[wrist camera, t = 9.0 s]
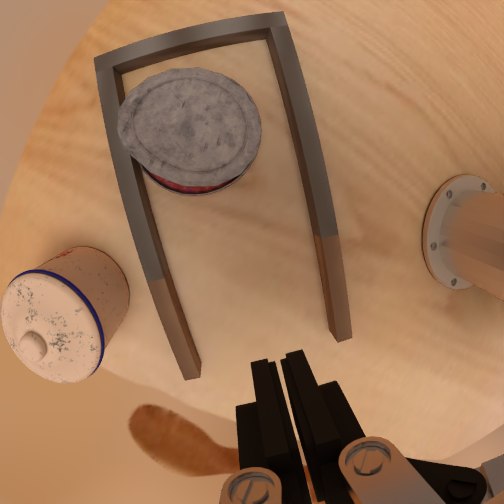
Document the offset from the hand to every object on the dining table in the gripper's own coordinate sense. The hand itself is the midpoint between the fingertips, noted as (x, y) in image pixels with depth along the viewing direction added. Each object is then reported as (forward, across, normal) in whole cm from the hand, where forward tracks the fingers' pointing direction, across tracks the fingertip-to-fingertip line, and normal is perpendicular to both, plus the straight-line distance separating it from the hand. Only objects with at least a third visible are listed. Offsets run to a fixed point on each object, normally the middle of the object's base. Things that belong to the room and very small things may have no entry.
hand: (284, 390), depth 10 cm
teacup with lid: (+19, +16, +1) cm, 25 cm away
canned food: (+19, +2, -11) cm, 22 cm away
